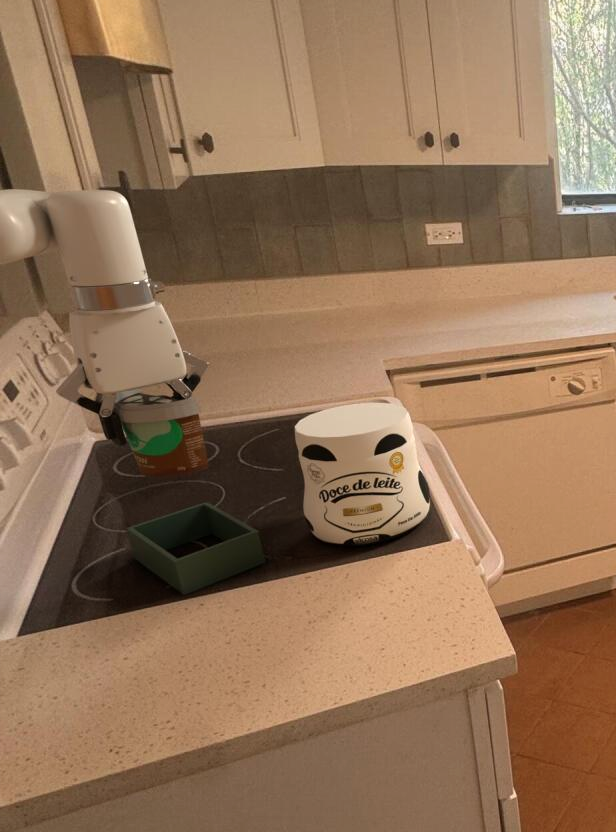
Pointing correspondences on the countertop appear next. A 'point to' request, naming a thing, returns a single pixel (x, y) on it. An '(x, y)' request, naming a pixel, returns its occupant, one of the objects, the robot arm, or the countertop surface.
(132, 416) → the food container
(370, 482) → the milk container
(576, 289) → the countertop surface
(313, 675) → the countertop surface
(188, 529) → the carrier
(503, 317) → the countertop surface
